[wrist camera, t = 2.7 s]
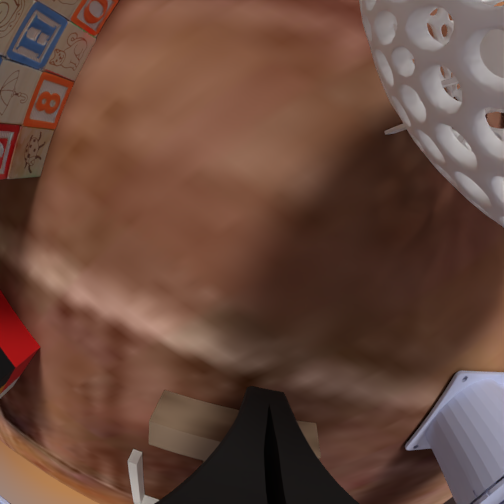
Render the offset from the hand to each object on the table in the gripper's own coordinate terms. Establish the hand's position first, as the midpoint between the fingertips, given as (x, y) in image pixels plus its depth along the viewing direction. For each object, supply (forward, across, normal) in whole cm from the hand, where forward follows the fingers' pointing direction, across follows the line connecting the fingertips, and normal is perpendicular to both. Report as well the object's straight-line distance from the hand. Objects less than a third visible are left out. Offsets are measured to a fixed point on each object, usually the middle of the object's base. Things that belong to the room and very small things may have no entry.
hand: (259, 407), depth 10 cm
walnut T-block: (+5, 0, +9) cm, 11 cm away
